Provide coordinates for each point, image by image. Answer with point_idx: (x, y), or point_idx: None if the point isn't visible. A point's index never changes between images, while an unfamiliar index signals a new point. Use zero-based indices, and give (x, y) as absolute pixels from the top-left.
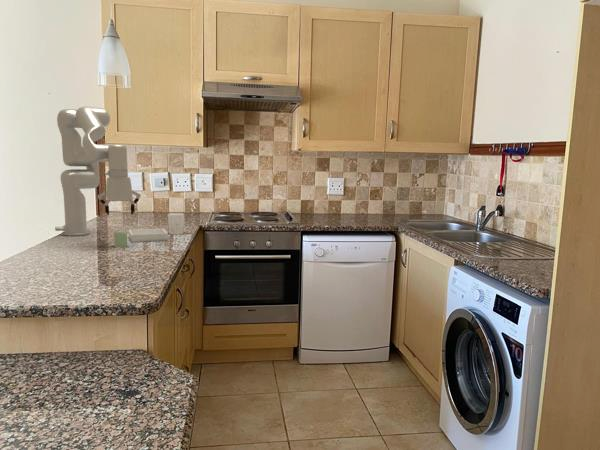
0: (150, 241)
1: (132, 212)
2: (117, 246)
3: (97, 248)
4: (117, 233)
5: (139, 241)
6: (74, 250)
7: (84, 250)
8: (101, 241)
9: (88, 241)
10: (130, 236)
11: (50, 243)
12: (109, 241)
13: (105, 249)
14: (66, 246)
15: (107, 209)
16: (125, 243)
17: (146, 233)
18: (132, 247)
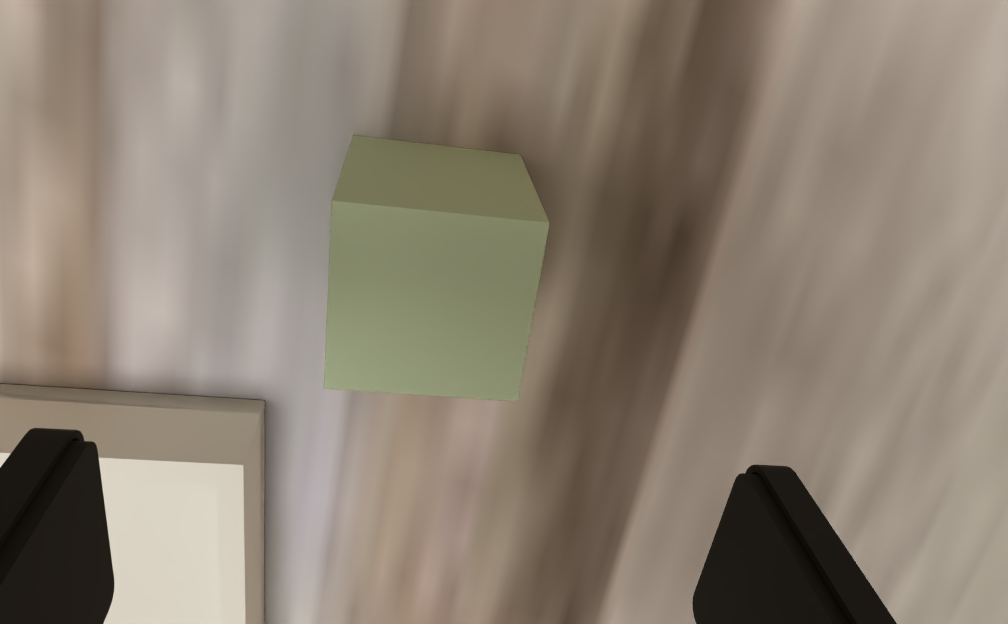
0: (7, 384)
1: (34, 453)
2: (489, 153)
3: (734, 176)
4: (500, 216)
5: (159, 399)
6: (1000, 159)
7: (911, 104)
8: (573, 572)
9: (686, 607)
10: (254, 560)
11: (999, 613)
12: (497, 549)
13: (670, 53)
14: (958, 431)
15: (860, 585)
16: (377, 152)
17: None
18: (291, 38)
